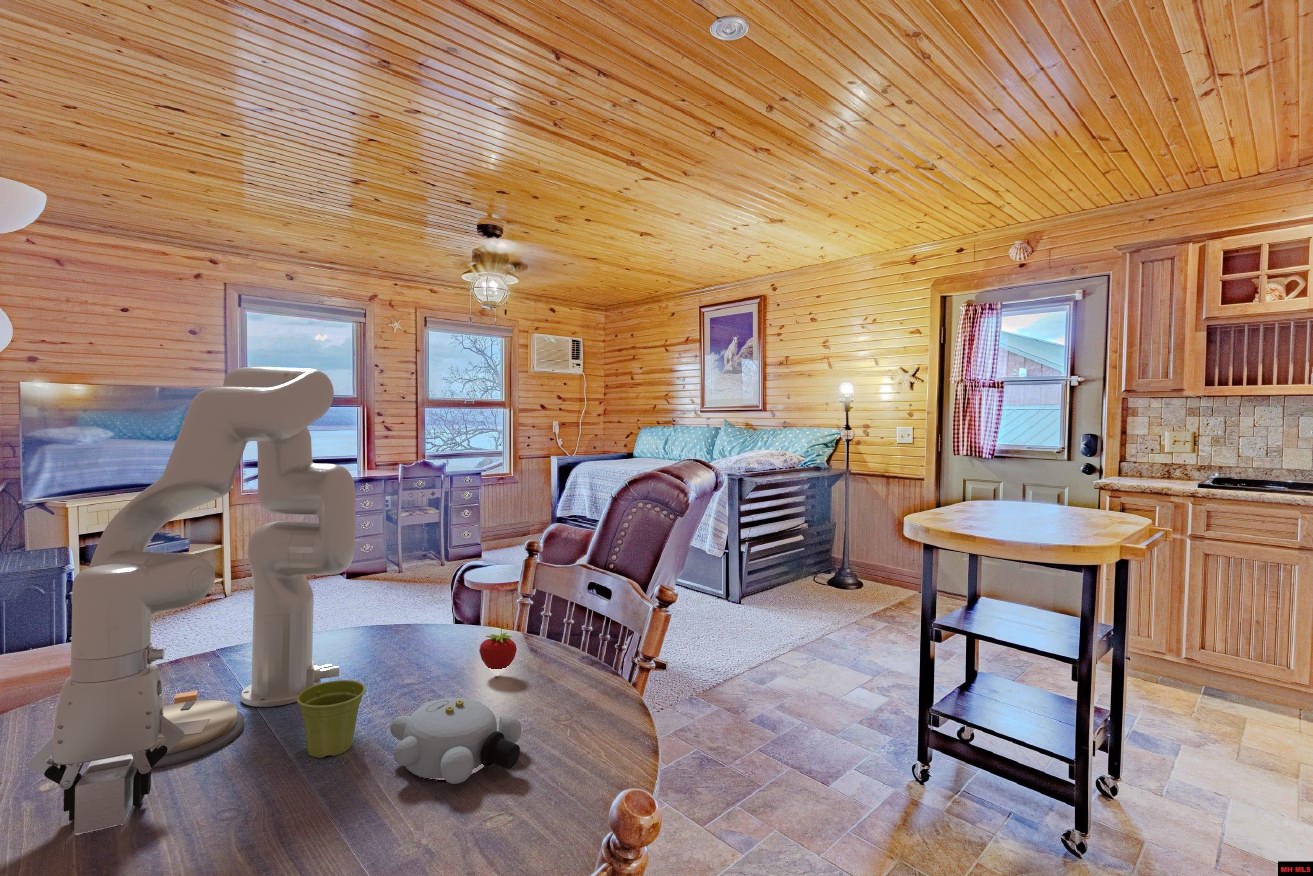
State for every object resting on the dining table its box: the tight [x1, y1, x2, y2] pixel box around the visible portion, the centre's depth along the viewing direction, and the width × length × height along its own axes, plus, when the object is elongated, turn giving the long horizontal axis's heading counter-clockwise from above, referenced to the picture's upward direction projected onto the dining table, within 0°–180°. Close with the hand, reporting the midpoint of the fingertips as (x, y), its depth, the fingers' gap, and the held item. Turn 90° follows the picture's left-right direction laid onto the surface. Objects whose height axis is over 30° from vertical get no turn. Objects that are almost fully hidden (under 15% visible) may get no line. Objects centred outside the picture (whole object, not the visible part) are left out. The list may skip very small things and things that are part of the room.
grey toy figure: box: [389, 697, 522, 785], centre depth 92 cm, size 17×8×20 cm
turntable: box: [151, 699, 238, 755], centre depth 96 cm, size 16×16×6 cm
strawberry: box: [478, 625, 517, 669], centre depth 124 cm, size 6×8×10 cm
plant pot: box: [296, 679, 367, 759], centre depth 94 cm, size 9×9×9 cm
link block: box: [73, 754, 137, 834], centre depth 78 cm, size 4×8×6 cm, turn 30°
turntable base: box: [151, 690, 245, 769], centre depth 97 cm, size 18×20×3 cm
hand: (108, 806), depth 78 cm, fingers open, 5 cm apart
